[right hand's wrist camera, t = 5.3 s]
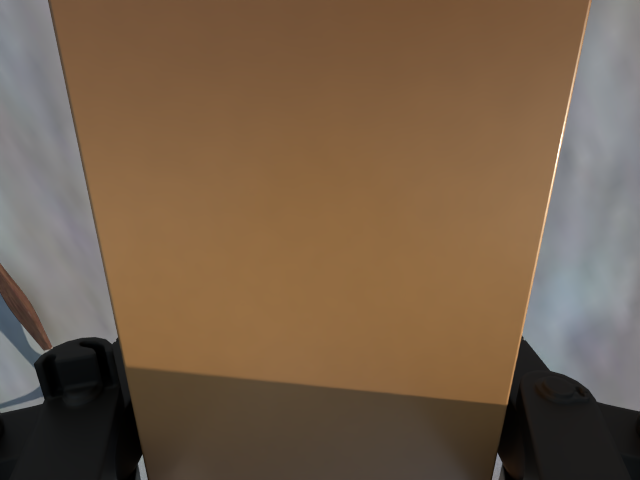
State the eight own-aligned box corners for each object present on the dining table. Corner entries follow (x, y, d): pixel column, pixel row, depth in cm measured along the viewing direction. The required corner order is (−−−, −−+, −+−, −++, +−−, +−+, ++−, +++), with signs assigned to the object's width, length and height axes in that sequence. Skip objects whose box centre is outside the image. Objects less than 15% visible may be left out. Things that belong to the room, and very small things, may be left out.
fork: (-8, 213, 24) (-36, 224, 22) (117, 416, 29) (104, 439, 27) (-47, 225, 24) (-78, 237, 22) (85, 424, 29) (69, 447, 28)
